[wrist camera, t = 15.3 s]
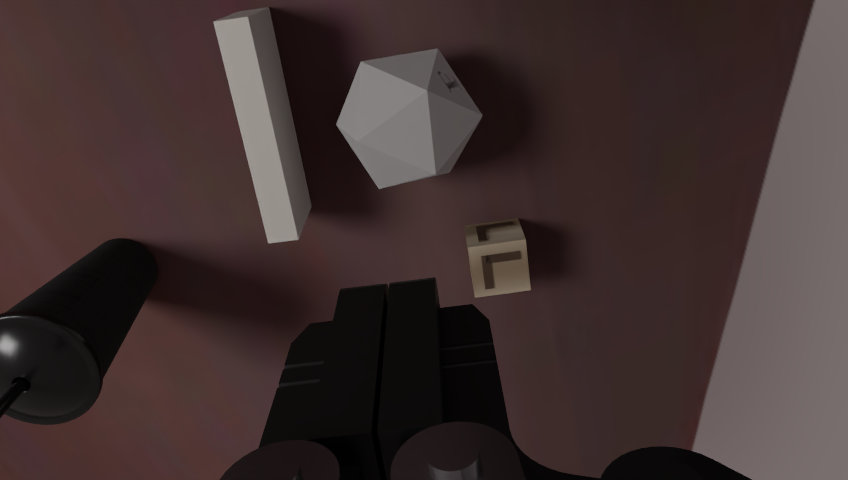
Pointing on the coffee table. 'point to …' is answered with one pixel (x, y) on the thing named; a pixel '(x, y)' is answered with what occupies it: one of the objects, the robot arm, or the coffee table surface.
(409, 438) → the robot arm
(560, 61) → the coffee table surface
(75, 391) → the drinking cup
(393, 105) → the die
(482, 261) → the letter block
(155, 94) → the coffee table surface
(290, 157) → the rail
